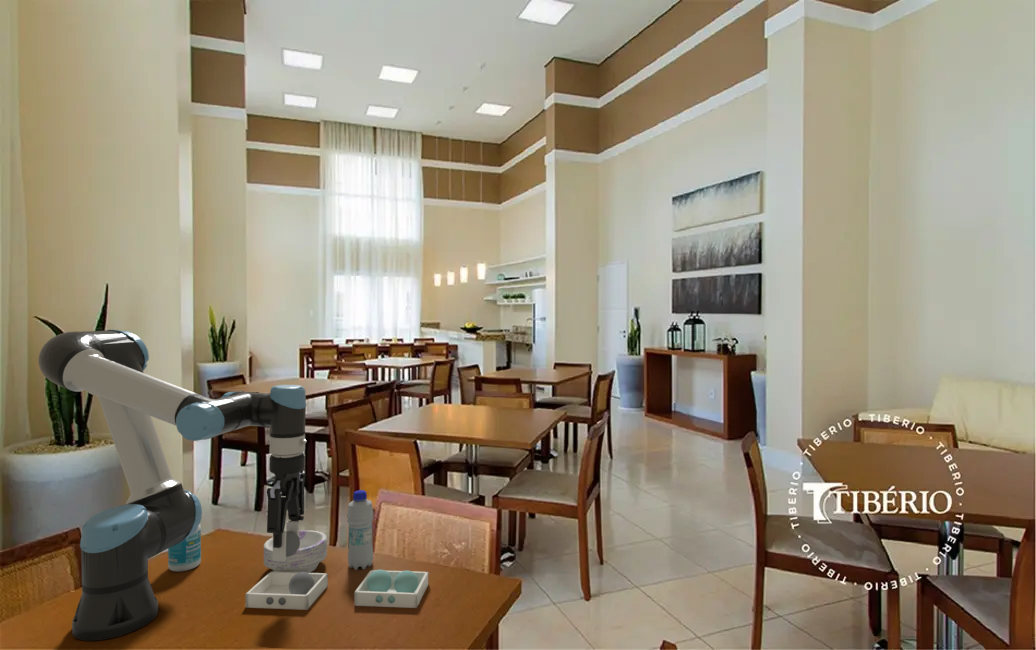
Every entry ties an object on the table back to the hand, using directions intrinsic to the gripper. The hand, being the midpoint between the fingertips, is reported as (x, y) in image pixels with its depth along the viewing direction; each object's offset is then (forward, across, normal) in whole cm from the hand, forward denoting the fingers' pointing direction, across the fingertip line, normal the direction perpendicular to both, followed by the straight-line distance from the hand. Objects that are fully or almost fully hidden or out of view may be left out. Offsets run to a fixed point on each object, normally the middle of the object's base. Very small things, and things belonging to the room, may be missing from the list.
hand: (285, 554), depth 132 cm
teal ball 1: (+10, +5, -20) cm, 23 cm away
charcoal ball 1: (0, 0, 0) cm, 0 cm away
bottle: (+11, +20, -10) cm, 25 cm away
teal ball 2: (+10, +5, -27) cm, 29 cm away
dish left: (+11, +2, 0) cm, 11 cm away
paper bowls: (+12, +16, +6) cm, 21 cm away
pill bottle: (+12, +16, +35) cm, 41 cm away
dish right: (+10, +5, -24) cm, 26 cm away
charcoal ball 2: (+11, +2, -3) cm, 11 cm away
